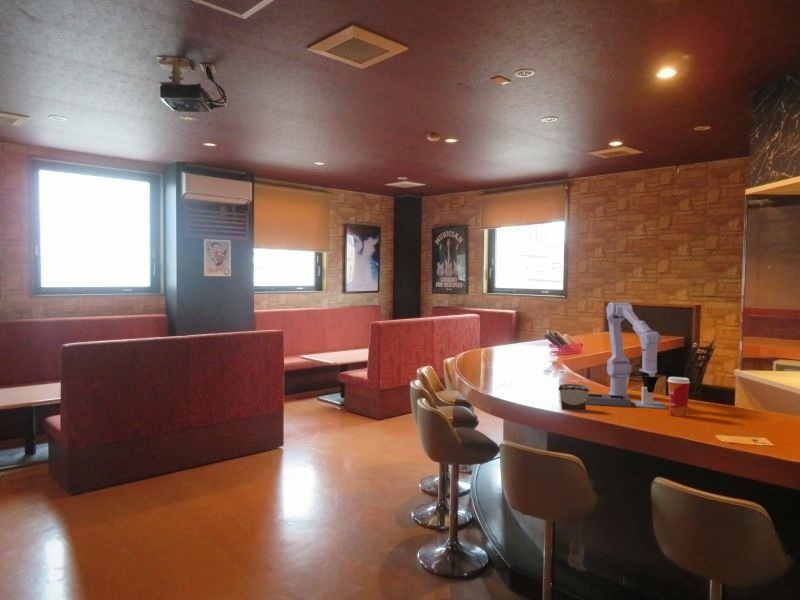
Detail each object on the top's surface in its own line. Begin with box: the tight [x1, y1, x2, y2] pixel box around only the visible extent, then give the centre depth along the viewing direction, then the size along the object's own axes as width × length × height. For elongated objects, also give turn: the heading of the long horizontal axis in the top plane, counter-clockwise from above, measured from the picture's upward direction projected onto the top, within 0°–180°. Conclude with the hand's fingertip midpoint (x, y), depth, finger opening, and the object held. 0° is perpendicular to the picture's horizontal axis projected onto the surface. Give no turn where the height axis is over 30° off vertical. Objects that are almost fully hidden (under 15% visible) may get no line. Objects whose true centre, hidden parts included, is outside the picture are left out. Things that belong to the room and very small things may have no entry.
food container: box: [558, 383, 590, 412], centre depth 227 cm, size 12×6×10 cm, turn 74°
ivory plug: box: [640, 386, 654, 405], centre depth 235 cm, size 4×4×7 cm
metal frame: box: [586, 392, 632, 408], centre depth 239 cm, size 10×20×3 cm, turn 75°
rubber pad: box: [631, 399, 668, 410], centre depth 235 cm, size 12×12×1 cm
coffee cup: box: [666, 376, 691, 418], centre depth 216 cm, size 8×8×15 cm
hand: (648, 390), depth 235 cm, fingers open, 7 cm apart
